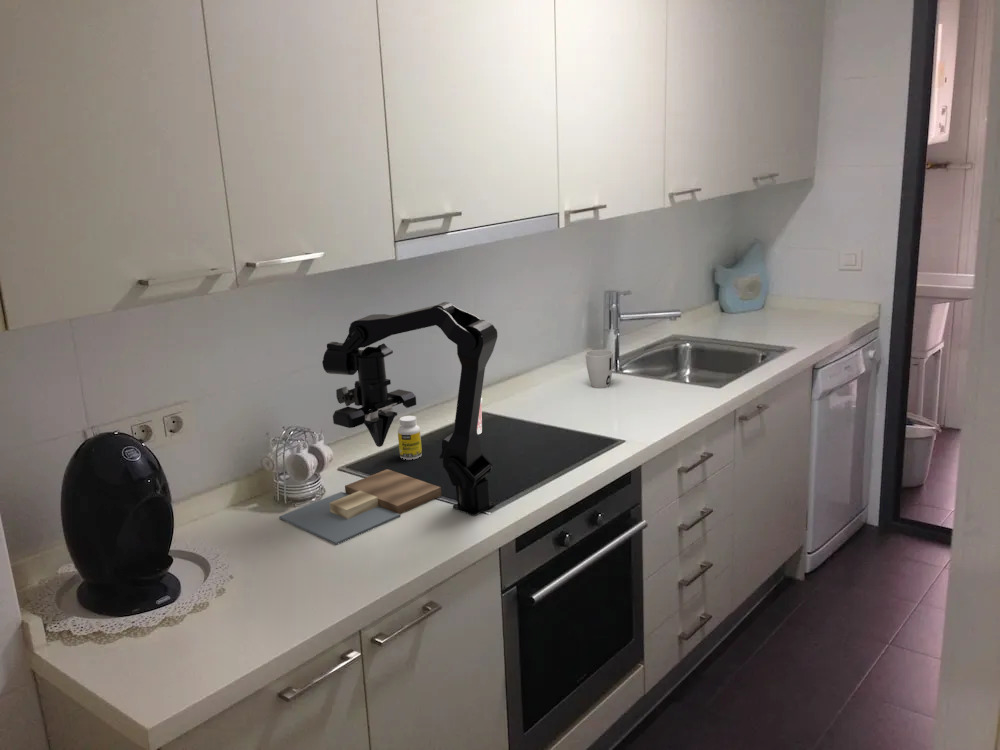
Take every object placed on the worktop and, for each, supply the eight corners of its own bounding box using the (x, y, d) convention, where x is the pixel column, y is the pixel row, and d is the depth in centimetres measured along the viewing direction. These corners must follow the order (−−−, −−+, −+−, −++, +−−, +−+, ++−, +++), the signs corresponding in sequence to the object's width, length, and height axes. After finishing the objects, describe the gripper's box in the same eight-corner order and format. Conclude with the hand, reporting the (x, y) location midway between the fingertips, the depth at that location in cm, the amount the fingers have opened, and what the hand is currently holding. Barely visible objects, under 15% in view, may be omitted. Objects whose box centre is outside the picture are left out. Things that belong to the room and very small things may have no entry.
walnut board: (441, 495, 193) (440, 487, 192) (398, 514, 185) (397, 505, 184) (388, 477, 205) (387, 469, 205) (345, 494, 197) (344, 485, 196)
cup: (613, 389, 261) (612, 356, 258) (585, 389, 262) (584, 356, 260) (614, 381, 269) (614, 349, 266) (587, 381, 270) (586, 349, 267)
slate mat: (400, 516, 184) (400, 514, 184) (336, 544, 173) (336, 542, 173) (341, 493, 197) (341, 491, 197) (279, 518, 186) (278, 516, 186)
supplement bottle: (401, 461, 214) (397, 422, 212) (398, 454, 219) (395, 416, 217) (423, 458, 215) (420, 420, 213) (420, 451, 220) (417, 413, 218)
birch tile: (378, 505, 188) (377, 497, 188) (347, 519, 183) (346, 510, 182) (361, 499, 192) (360, 490, 192) (330, 511, 187) (329, 502, 186)
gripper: (380, 361, 200) (387, 427, 204) (312, 381, 186) (321, 452, 191) (414, 367, 192) (421, 436, 197) (346, 389, 179) (354, 462, 183)
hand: (379, 446), depth 192 cm, fingers closed
